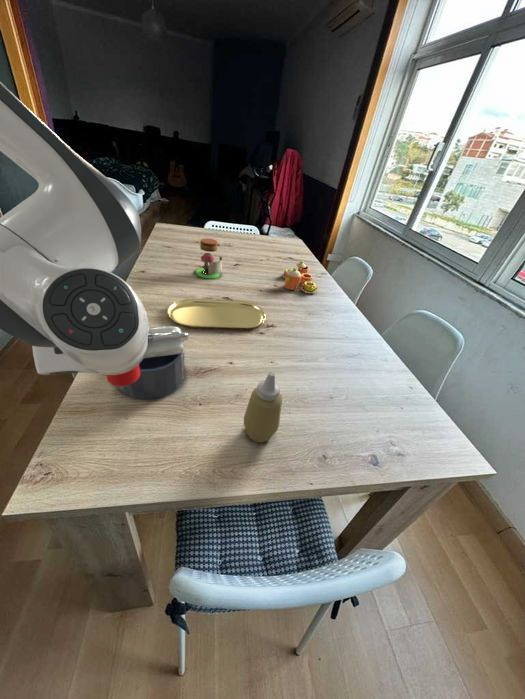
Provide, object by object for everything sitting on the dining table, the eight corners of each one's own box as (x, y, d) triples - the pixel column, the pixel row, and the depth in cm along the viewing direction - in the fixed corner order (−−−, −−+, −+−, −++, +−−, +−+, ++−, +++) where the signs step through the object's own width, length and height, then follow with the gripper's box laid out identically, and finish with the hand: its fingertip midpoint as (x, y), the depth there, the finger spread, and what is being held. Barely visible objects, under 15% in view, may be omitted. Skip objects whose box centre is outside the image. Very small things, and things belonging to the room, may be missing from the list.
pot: (126, 408, 67) (120, 379, 62) (110, 365, 78) (104, 337, 73) (194, 387, 76) (194, 360, 71) (172, 351, 86) (170, 325, 81)
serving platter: (169, 301, 110) (169, 297, 109) (261, 305, 117) (261, 302, 116) (165, 328, 95) (164, 324, 94) (269, 331, 102) (270, 328, 102)
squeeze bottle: (262, 413, 72) (275, 356, 61) (283, 437, 67) (300, 379, 57) (235, 426, 68) (243, 367, 57) (255, 453, 63) (267, 394, 52)
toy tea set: (317, 296, 132) (323, 276, 126) (284, 292, 130) (288, 271, 125) (308, 273, 153) (313, 255, 147) (279, 270, 151) (282, 251, 146)
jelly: (109, 390, 50) (101, 352, 46) (103, 370, 54) (94, 333, 49) (144, 381, 53) (140, 344, 48) (136, 362, 57) (131, 326, 52)
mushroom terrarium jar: (190, 277, 129) (190, 242, 120) (199, 267, 139) (200, 235, 130) (217, 282, 129) (219, 248, 120) (223, 271, 139) (225, 239, 130)
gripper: (187, 312, 43) (177, 331, 56) (16, 325, 35) (50, 343, 48) (194, 354, 43) (182, 363, 55) (21, 376, 35) (54, 381, 47)
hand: (120, 354), depth 52 cm, fingers closed on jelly, 5 cm apart
